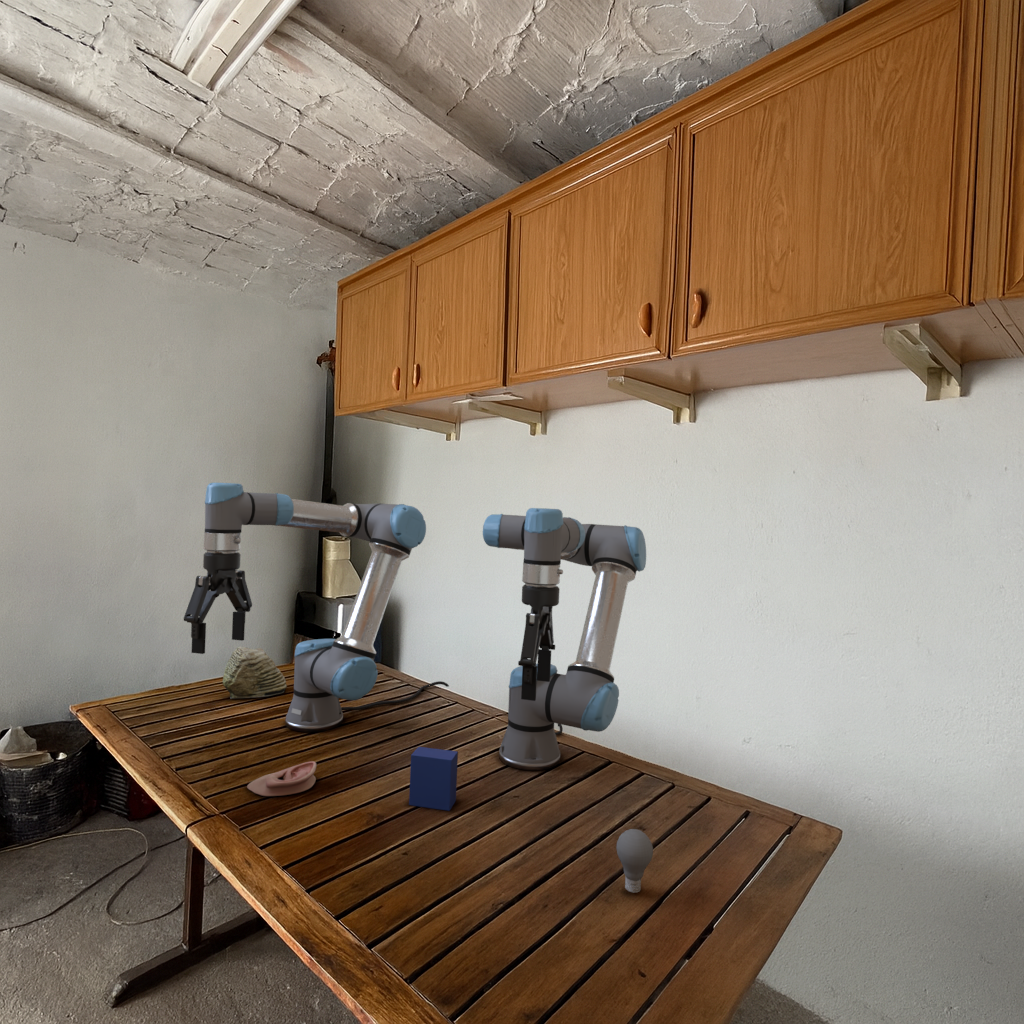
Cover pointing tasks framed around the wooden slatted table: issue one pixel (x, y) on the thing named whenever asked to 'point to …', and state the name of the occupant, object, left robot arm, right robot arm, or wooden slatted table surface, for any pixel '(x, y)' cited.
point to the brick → (433, 778)
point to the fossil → (252, 674)
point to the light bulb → (634, 857)
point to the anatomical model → (285, 781)
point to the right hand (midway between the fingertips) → (536, 689)
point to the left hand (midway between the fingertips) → (219, 646)
